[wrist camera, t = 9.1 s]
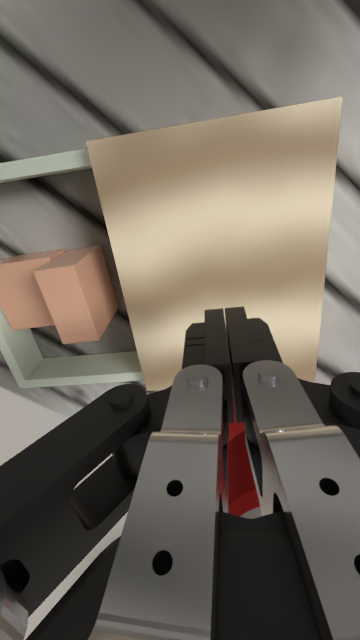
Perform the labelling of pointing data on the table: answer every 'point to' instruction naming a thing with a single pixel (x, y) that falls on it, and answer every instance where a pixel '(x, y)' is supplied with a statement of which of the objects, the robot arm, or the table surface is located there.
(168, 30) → the table surface
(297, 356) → the plate
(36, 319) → the tile back
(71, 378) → the tray
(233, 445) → the canned food
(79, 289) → the tile front
